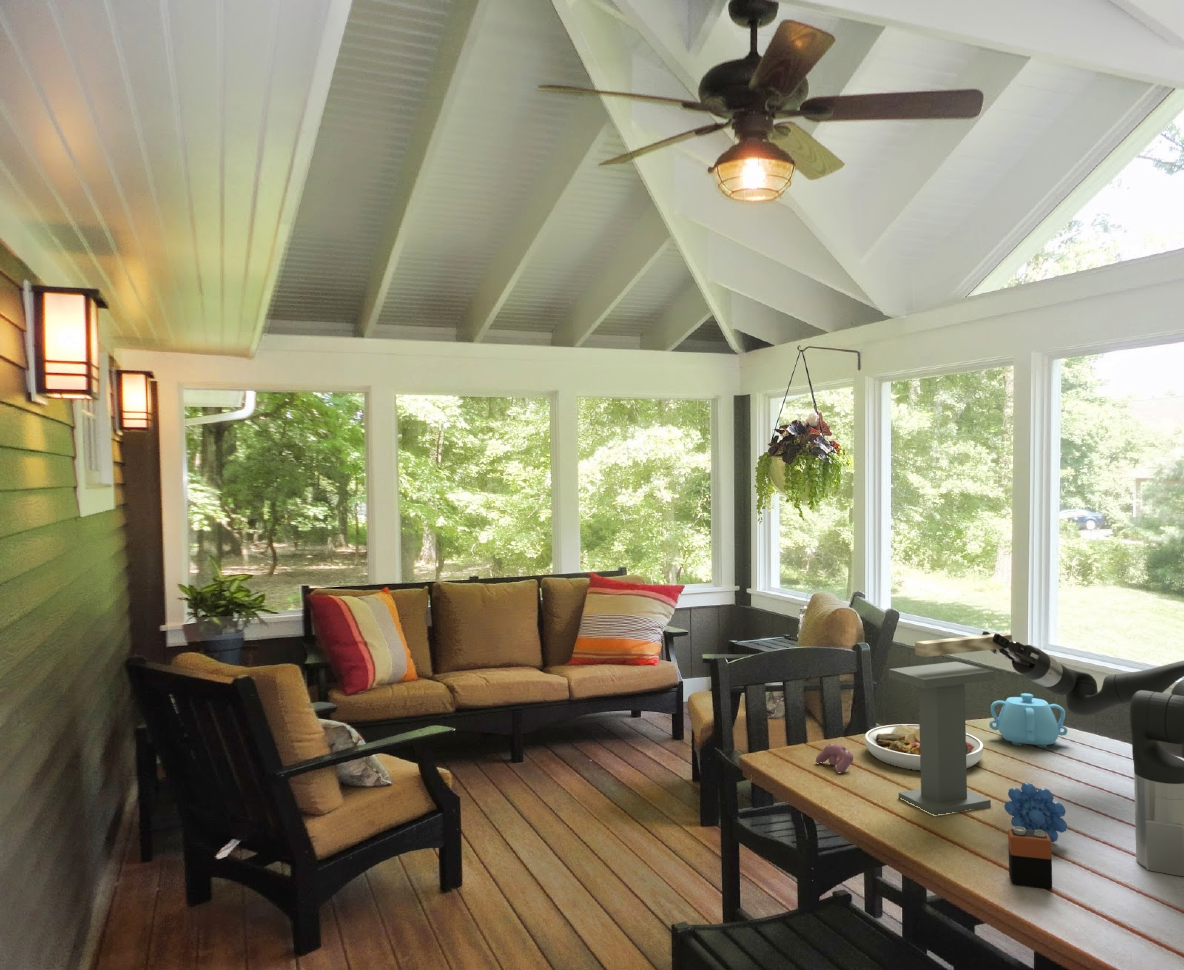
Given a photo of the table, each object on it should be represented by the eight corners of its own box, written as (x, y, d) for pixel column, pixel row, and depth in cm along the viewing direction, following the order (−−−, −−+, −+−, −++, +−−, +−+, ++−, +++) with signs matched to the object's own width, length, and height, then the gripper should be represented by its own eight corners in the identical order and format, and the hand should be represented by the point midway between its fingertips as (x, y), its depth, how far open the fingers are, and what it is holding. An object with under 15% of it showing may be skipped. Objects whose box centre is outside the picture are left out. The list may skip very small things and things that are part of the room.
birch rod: (1002, 645, 208) (1002, 632, 208) (1012, 647, 205) (1011, 634, 205) (915, 654, 199) (914, 641, 199) (924, 657, 197) (924, 643, 197)
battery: (1008, 875, 163) (1007, 822, 163) (1048, 880, 161) (1047, 826, 161) (1011, 885, 159) (1010, 831, 159) (1052, 890, 156) (1051, 836, 156)
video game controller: (849, 778, 222) (858, 753, 223) (836, 773, 220) (846, 747, 222) (825, 767, 231) (834, 742, 232) (812, 762, 229) (821, 737, 231)
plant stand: (959, 788, 209) (956, 661, 209) (997, 805, 198) (994, 671, 198) (891, 800, 202) (888, 669, 202) (927, 818, 191) (924, 679, 191)
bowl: (842, 751, 240) (841, 723, 240) (918, 735, 254) (917, 708, 254) (928, 784, 213) (927, 752, 213) (1008, 763, 227) (1007, 734, 227)
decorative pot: (1030, 731, 255) (1029, 685, 255) (1074, 746, 239) (1072, 697, 239) (984, 736, 250) (983, 690, 250) (1026, 752, 235) (1024, 703, 235)
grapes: (1006, 845, 176) (1005, 787, 176) (1004, 833, 182) (1002, 776, 182) (1070, 853, 172) (1069, 793, 172) (1066, 840, 178) (1064, 782, 178)
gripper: (1056, 686, 203) (1006, 655, 198) (1009, 674, 216) (961, 645, 211) (1067, 657, 204) (1017, 625, 199) (1019, 647, 217) (972, 617, 212)
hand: (988, 636), depth 205 cm, fingers closed on birch rod, 3 cm apart
